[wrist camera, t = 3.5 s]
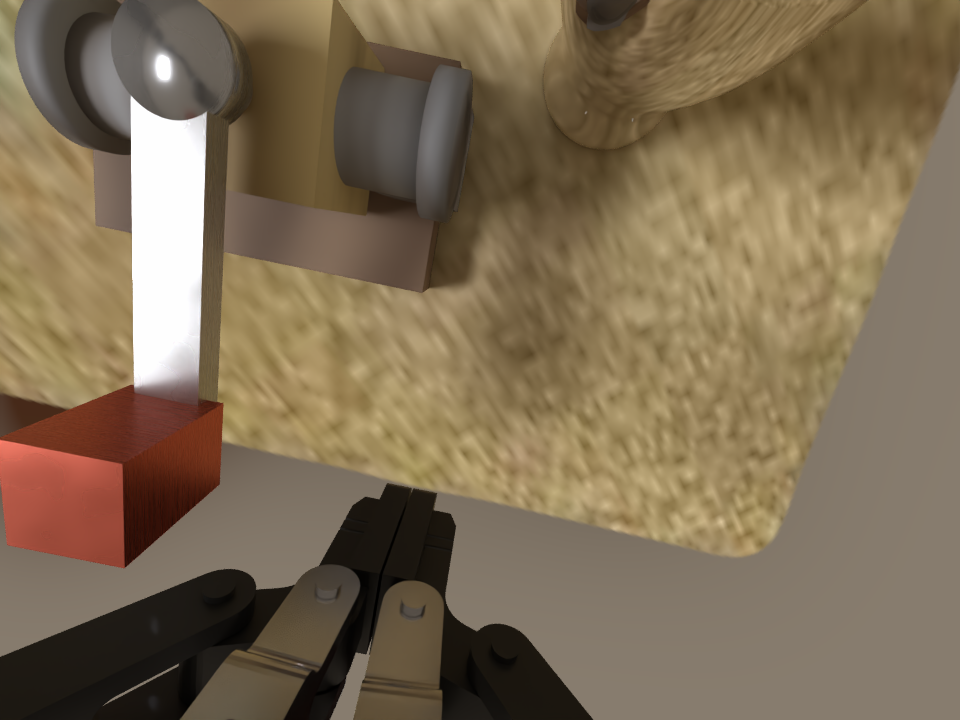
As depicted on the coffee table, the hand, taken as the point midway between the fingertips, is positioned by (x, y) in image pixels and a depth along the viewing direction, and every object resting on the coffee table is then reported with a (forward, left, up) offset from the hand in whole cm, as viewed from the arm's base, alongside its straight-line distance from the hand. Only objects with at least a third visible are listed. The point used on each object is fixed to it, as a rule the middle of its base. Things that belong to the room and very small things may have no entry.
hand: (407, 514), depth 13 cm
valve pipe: (-10, +10, -12) cm, 19 cm away
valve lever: (-8, +5, -2) cm, 10 cm away
